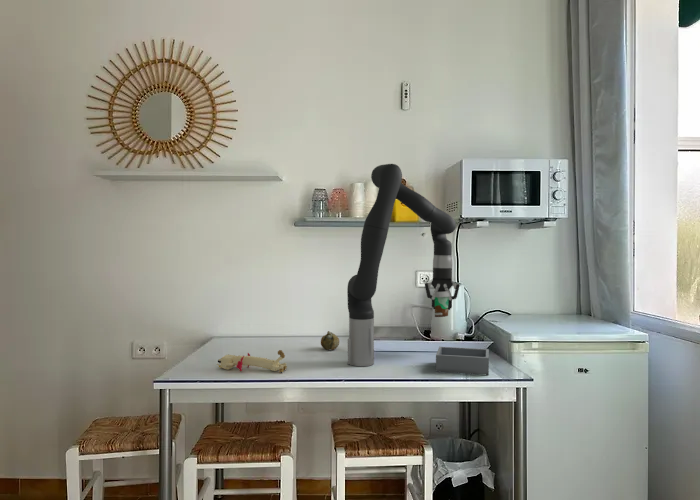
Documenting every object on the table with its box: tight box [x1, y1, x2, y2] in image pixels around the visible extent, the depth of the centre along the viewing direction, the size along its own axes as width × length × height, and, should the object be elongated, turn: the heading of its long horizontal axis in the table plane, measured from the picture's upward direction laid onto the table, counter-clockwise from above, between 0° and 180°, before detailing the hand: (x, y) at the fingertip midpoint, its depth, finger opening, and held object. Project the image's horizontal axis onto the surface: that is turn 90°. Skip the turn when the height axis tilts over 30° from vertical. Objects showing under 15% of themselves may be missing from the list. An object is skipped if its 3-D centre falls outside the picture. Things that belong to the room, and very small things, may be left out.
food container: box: [434, 289, 452, 318], centre depth 215 cm, size 12×6×10 cm, turn 168°
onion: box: [320, 330, 340, 351], centre depth 226 cm, size 8×8×8 cm
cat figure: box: [216, 349, 288, 373], centre depth 194 cm, size 10×9×25 cm
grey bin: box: [435, 346, 490, 376], centre depth 196 cm, size 18×14×6 cm
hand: (441, 309), depth 215 cm, fingers closed on food container, 5 cm apart
